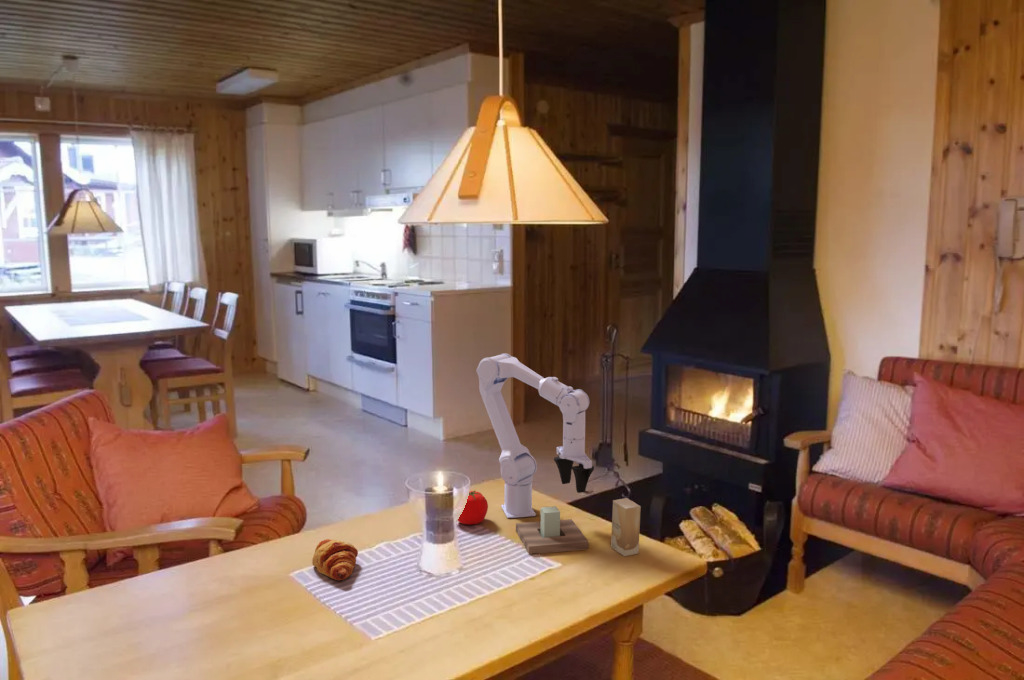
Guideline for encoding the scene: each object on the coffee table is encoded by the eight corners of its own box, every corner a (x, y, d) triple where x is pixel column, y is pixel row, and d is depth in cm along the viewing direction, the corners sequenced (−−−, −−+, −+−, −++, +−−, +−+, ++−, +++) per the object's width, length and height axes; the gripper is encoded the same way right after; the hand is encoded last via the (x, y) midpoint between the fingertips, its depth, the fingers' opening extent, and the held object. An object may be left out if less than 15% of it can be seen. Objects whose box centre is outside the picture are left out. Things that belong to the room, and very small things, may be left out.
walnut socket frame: (515, 530, 203) (515, 523, 203) (571, 526, 206) (571, 519, 206) (528, 554, 189) (528, 546, 188) (588, 549, 192) (588, 541, 192)
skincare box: (610, 547, 193) (611, 499, 191) (625, 544, 195) (626, 497, 193) (624, 557, 187) (625, 508, 186) (639, 554, 189) (641, 505, 187)
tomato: (448, 527, 206) (447, 496, 204) (459, 513, 215) (459, 484, 214) (482, 530, 203) (482, 499, 202) (492, 516, 213) (492, 486, 212)
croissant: (315, 565, 191) (298, 540, 188) (351, 540, 194) (334, 515, 192) (333, 601, 172) (314, 573, 169) (372, 573, 175) (354, 546, 172)
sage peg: (540, 537, 199) (540, 507, 198) (555, 536, 200) (556, 506, 199) (544, 543, 195) (544, 512, 194) (559, 542, 196) (560, 511, 195)
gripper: (546, 432, 208) (546, 481, 210) (575, 446, 195) (574, 498, 197) (569, 429, 211) (569, 477, 213) (599, 442, 198) (598, 494, 200)
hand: (573, 487), depth 205 cm, fingers open, 7 cm apart
